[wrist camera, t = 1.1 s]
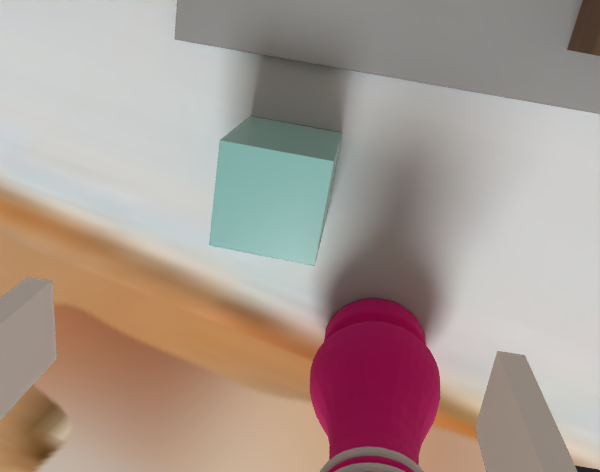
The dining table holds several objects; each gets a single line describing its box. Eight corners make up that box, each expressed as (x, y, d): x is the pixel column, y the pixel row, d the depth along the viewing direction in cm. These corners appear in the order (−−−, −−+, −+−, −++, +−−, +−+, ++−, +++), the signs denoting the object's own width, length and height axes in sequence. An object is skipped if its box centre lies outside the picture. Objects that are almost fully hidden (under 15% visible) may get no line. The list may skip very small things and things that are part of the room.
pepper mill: (297, 317, 36) (211, 639, 17) (401, 271, 34) (431, 581, 15) (350, 403, 38) (323, 777, 19) (452, 365, 36) (533, 742, 17)
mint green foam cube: (239, 203, 33) (209, 245, 27) (250, 116, 32) (219, 140, 25) (326, 219, 33) (314, 266, 27) (342, 132, 31) (333, 161, 25)
